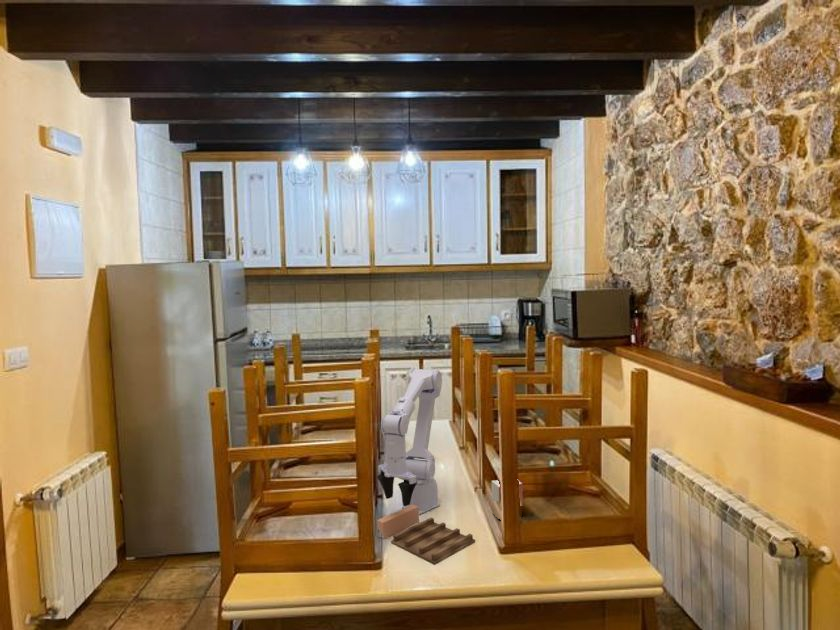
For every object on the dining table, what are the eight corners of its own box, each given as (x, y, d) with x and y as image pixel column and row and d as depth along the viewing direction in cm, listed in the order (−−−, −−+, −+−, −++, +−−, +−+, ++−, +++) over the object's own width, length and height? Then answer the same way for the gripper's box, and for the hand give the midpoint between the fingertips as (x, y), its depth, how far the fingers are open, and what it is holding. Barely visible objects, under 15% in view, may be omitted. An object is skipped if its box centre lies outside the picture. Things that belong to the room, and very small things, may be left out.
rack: (431, 523, 168) (431, 516, 168) (475, 541, 156) (475, 534, 156) (391, 542, 157) (390, 535, 157) (434, 564, 145) (434, 556, 145)
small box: (498, 521, 168) (498, 487, 167) (491, 513, 173) (490, 480, 172) (523, 517, 170) (522, 483, 169) (515, 509, 175) (514, 476, 174)
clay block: (413, 520, 171) (412, 504, 171) (419, 522, 169) (418, 506, 169) (377, 537, 161) (377, 520, 161) (383, 539, 160) (382, 522, 159)
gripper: (369, 453, 166) (371, 498, 167) (402, 465, 155) (404, 513, 157) (387, 447, 171) (389, 491, 172) (421, 458, 160) (422, 504, 161)
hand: (397, 501), depth 165 cm, fingers open, 7 cm apart
